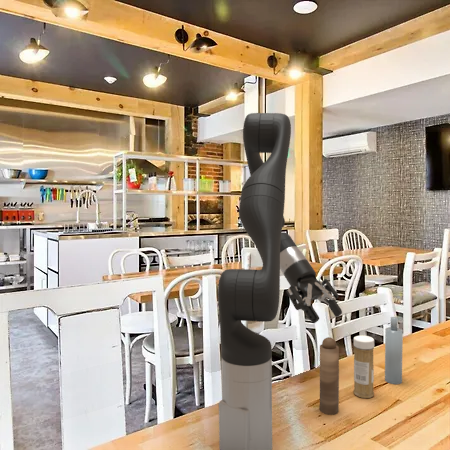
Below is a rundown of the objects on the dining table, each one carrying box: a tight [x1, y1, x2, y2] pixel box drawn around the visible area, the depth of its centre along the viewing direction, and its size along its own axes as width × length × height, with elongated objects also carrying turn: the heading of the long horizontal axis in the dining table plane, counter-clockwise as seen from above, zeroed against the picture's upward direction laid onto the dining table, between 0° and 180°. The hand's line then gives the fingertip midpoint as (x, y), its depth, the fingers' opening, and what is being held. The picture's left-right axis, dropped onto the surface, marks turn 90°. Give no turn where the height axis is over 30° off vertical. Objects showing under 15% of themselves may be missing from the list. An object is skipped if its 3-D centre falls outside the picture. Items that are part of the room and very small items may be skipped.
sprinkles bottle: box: [353, 335, 375, 399], centre depth 99 cm, size 5×5×14 cm
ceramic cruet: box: [384, 316, 404, 385], centre depth 106 cm, size 4×4×16 cm
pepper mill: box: [319, 337, 340, 416], centre depth 92 cm, size 4×4×16 cm
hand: (328, 318), depth 107 cm, fingers open, 8 cm apart
